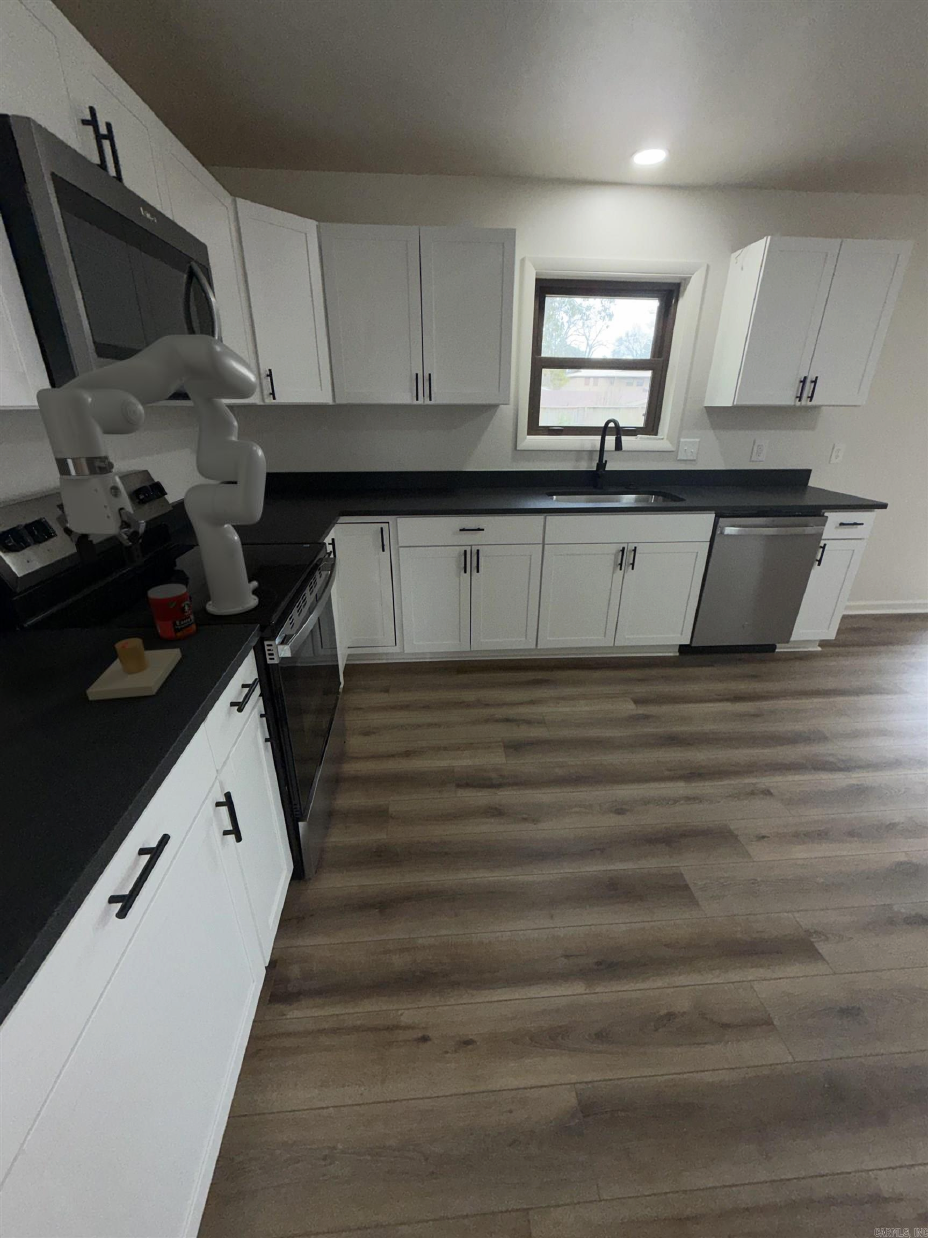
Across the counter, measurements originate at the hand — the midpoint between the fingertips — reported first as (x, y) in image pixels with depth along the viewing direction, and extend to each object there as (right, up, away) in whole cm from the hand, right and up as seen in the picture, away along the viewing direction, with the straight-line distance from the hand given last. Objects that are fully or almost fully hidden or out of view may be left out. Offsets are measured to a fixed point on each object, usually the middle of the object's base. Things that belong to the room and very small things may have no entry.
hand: (112, 564), depth 91 cm
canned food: (-2, -14, +25) cm, 29 cm away
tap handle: (0, -20, +6) cm, 21 cm away
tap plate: (0, -22, +7) cm, 23 cm away
